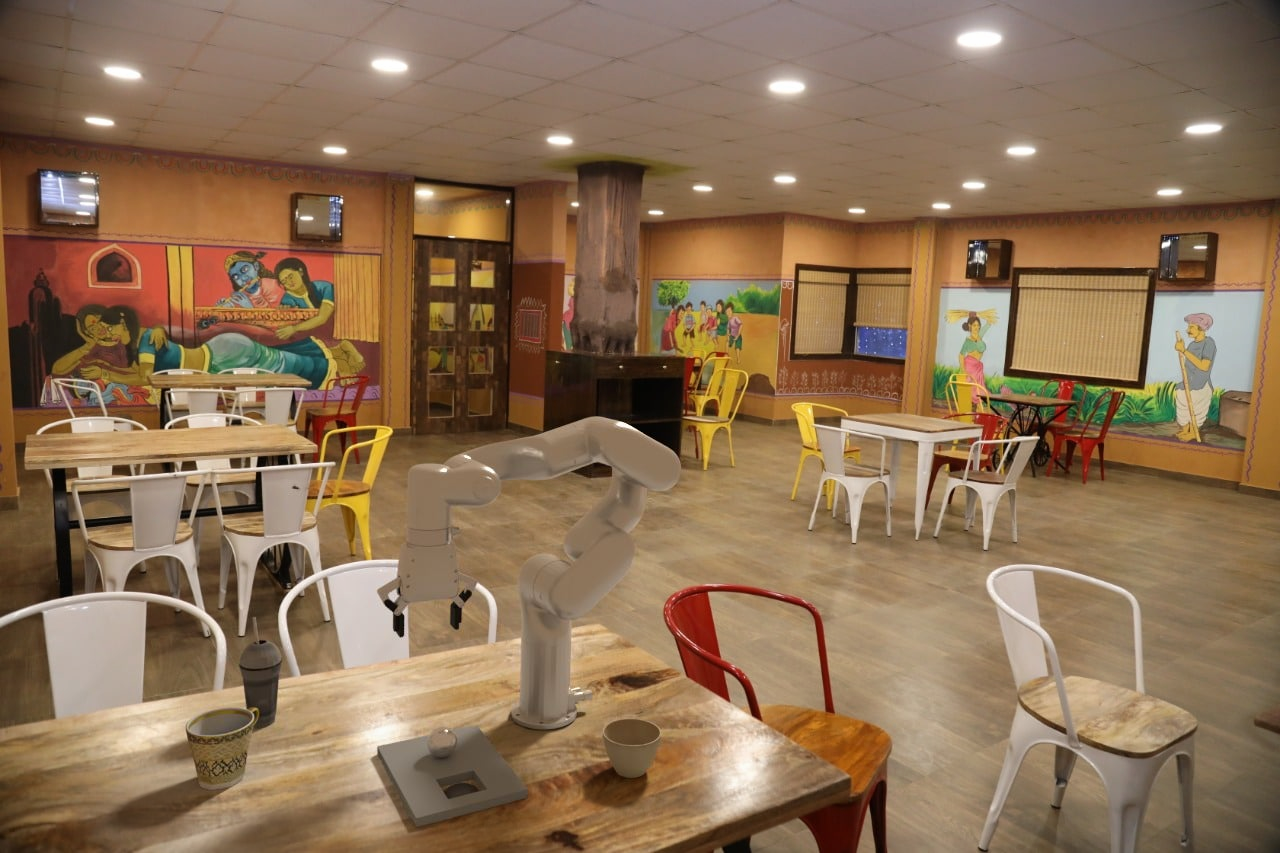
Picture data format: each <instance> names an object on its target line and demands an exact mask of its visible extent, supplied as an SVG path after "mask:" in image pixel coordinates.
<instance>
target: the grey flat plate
mask: <svg viewBox="0 0 1280 853" xmlns="http://www.w3.org/2000/svg"><path fill="white" fill-rule="evenodd" d="M452 730H453V731H454V732H455V734H456V736H457V746H456V748H455V750H454V752H453V753H452V754H451V755H449V756H447V757H444V758H439V757H435V756H434V755H432V754H431V753H430V751H429V749H428V746H427V741H428V737H429V735H430V734H429V735H423V736H420V737H414V738H410V739H404V740H400V741H396V742H391V743H386V744H382V745H377V748H376V749H377V750H376V751H377V752H376V753H377V754H376V755H377V757H378V758H379V760H380V763H381V764H382V766H383V769H385V771H386V773H387V775H388V777H389V779H390V781H391V784H392V785H393V787H394V788H395V791H396V792H397V794H398V796H399V797H400V800H401V802H402V803H403V805H404V807H405V809H406V811H407V813H408V814H409V817H410V818H411V821H412V822H413V824H414V826H415V828H420V827H424V826H427V825H431V824H435V823H438V822H442V821H447V820H449V819H453V818H457V817H461V816H465V815H468V814H471V813H476V812H479V811H483V810H487V809H491V808H494V807H499V806H502V805H505V804H510V803H512V802H516V801H517V802H518V801H520V800H523V799H524V800H525V799H528V795H529V793H528V791H529V790H528V788H527V786H526V785H525V783H523V780H521V779H520V777H519V776H518V775H517V774H516V772H515V770H513V768H512V767H511V766H510V765H509V764H508V763H507V761H506V760H505V758H504V757H503V756H502V755H501V754H500V752H499V751H498V750H497V748H496V746H494V745H493V743H492V742H491V741H490V740H489V738H488V736H486V735H485V733H484V732H483V730H481V728H480V727H479V726H478V724H474V725H471V726H466V727H461V728H457V729H456V728H455V729H452ZM471 780H474V781H475V783H476V784H477V786H476V785H475V784H473V783H468V782H466V781H471ZM449 785H450V786H449ZM446 786H448V787H446ZM442 787H446V788H445V790H443V789H442ZM478 787H479V788H478ZM479 789H480V790H479Z"/></svg>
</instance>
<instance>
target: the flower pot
mask: <svg viewBox="0 0 1280 853" xmlns="http://www.w3.org/2000/svg"><path fill="white" fill-rule="evenodd" d="M602 738H603V744H604V749H605V751H606V754H607V757H608V759H609V761H610V764H611V765H612V767H613V769H614V771H615V772H616V773H617V774H618V775H619V776H621V777H623V778H626V779H627V778H628V779H635V778H639V777H641V776H644V775H645V773H646V772H647V771H648V770H649V768H650V766H651V765H652V763H653V761H654V760H655V757H656V755H657V752H658V750H659V746H660V742H661V738H662V730H661V728H660V727H659V726H658V725H656V723H654V722H651V721H649V720H647V719H641V718H632V717H631V718H629V717H628V718H619V719H615V720H612V721H610V722H608V723H607V724H605V726H604V727H603V728H602Z"/></svg>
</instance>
